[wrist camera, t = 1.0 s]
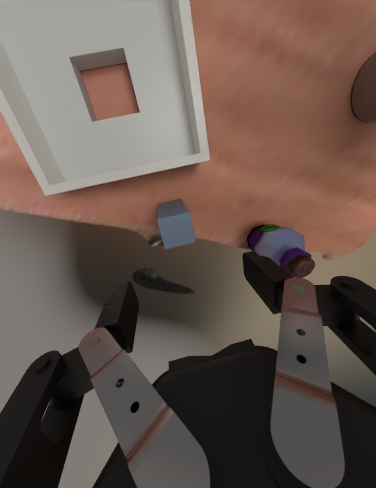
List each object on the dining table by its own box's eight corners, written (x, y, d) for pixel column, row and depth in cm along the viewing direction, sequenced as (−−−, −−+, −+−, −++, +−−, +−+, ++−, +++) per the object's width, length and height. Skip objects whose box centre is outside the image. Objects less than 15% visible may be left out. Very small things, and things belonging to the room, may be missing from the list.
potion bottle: (267, 207, 33) (321, 226, 22) (287, 238, 36) (342, 269, 25) (231, 237, 34) (265, 269, 23) (253, 264, 38) (291, 304, 27)
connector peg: (180, 198, 30) (189, 211, 21) (185, 220, 32) (195, 242, 22) (157, 204, 30) (156, 219, 21) (163, 226, 31) (165, 249, 22)
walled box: (168, -31, 20) (173, -126, 13) (198, 162, 28) (209, 160, 22) (-16, -3, 19) (-107, -92, 12) (72, 189, 27) (45, 195, 21)
